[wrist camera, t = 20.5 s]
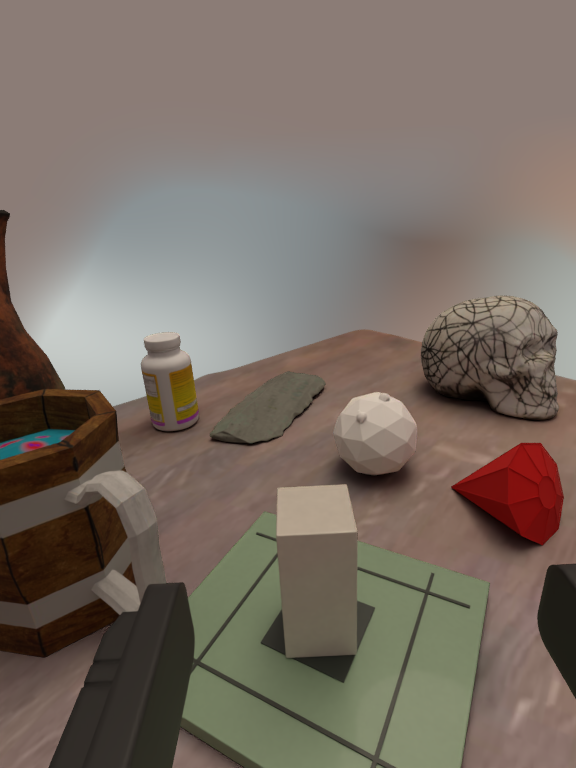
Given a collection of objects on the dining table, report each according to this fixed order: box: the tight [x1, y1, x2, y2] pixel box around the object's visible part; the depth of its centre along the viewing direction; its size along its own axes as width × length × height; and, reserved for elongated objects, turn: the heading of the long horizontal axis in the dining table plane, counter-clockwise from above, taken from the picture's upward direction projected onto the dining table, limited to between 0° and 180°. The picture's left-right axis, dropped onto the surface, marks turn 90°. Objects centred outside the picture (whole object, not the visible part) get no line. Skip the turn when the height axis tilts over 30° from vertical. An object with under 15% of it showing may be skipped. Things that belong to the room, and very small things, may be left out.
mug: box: [0, 389, 166, 657], centre depth 33 cm, size 20×14×15 cm
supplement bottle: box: [141, 332, 199, 431], centre depth 62 cm, size 7×7×13 cm
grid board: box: [180, 512, 490, 768], centre depth 31 cm, size 20×18×1 cm
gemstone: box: [451, 443, 564, 545], centre depth 42 cm, size 9×9×10 cm
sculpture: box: [421, 296, 559, 420], centre depth 64 cm, size 15×20×15 cm
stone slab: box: [210, 371, 325, 443], centre depth 66 cm, size 22×3×10 cm
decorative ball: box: [333, 392, 417, 475], centre depth 49 cm, size 9×11×12 cm
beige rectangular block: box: [276, 484, 358, 658], centre depth 29 cm, size 5×5×10 cm
